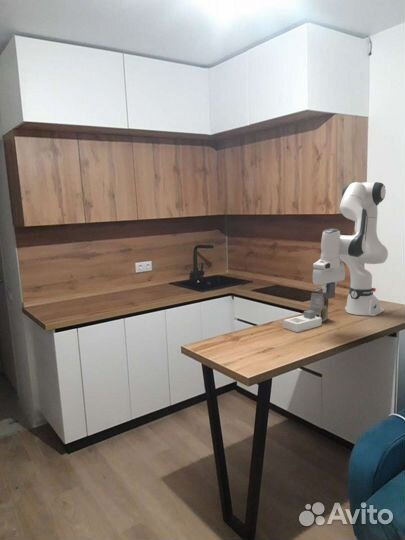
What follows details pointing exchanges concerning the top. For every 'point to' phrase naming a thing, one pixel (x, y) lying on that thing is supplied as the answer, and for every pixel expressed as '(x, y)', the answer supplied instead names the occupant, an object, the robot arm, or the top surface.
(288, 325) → the white slotted base
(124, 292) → the top surface
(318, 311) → the coffee box
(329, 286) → the black plug
